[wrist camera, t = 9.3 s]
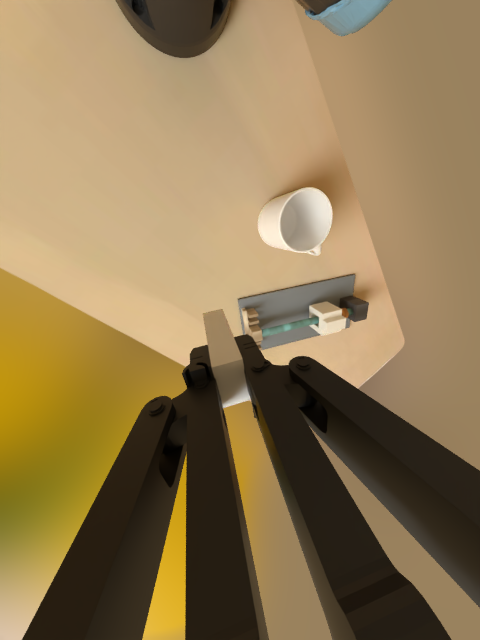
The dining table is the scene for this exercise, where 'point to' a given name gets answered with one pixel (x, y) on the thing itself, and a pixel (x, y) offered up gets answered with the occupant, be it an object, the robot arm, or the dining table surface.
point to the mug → (297, 221)
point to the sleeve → (327, 318)
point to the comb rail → (252, 324)
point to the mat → (295, 307)
